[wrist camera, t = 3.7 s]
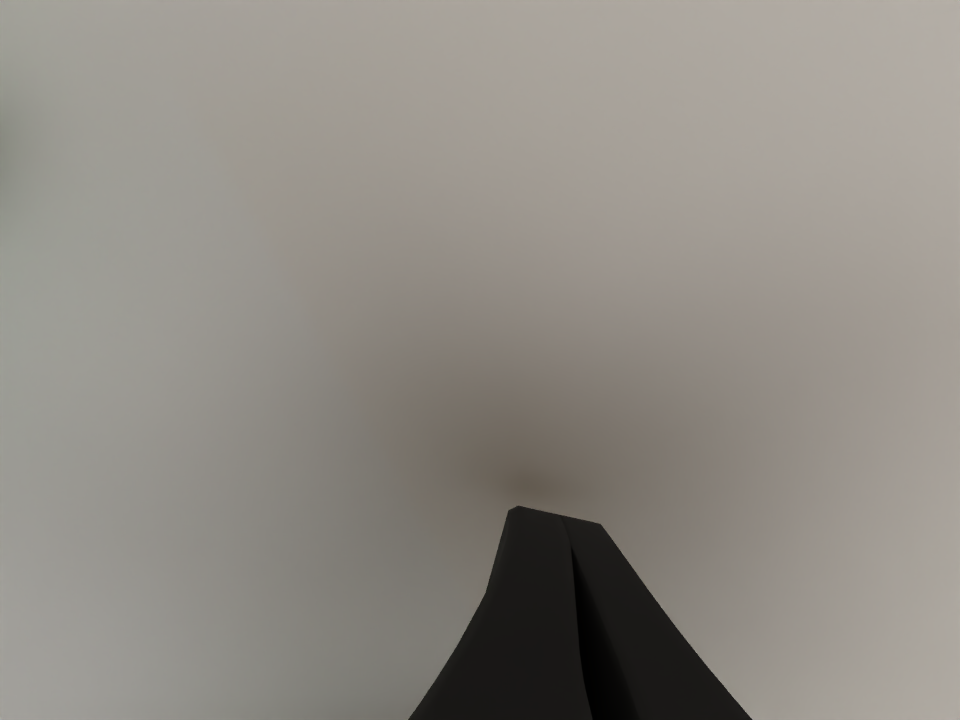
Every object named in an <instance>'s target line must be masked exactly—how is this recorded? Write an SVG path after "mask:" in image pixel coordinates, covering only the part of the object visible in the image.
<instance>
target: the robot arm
mask: <svg viewBox="0 0 960 720" xmlns="http://www.w3.org/2000/svg"><path fill="white" fill-rule="evenodd" d="M408 720H752V719H751V718H750V716H749V715H748V714H747V713H746V712H745V711H744V710H743V708H742V707H741V706H740V705H739V704H738V702H737V701H736V700H735V699H734V698H733V697H732V695H731V694H730V693H729V692H728V691H727V689H726V688H725V687H724V686H723V685H722V683H721V682H720V681H719V680H718V679H717V678H716V676H715V675H714V674H713V673H712V672H711V670H710V669H709V668H708V667H707V666H706V664H705V663H704V662H703V661H702V659H701V658H700V657H699V656H698V654H697V653H696V652H695V651H694V649H693V648H692V647H691V646H690V644H689V643H688V642H687V641H686V639H685V638H684V637H683V635H682V634H681V633H680V632H679V630H678V629H677V628H676V626H675V625H674V624H673V622H672V621H671V620H670V618H669V617H668V616H667V614H666V613H665V612H664V611H663V609H662V608H661V607H660V605H659V604H658V602H657V601H656V600H655V598H654V597H653V596H652V594H651V593H650V592H649V590H648V589H647V587H646V586H645V585H644V583H643V582H642V581H641V579H640V578H639V576H638V575H637V574H636V572H635V571H634V569H633V568H632V567H631V565H630V564H629V562H628V561H627V560H626V558H625V557H624V555H623V554H622V553H621V551H620V550H619V548H618V547H617V546H616V544H615V543H614V541H613V540H612V539H611V537H610V536H609V535H608V533H607V532H606V531H605V529H604V528H603V527H602V525H601V524H598V523H594V522H589V521H585V520H580V519H576V518H571V517H567V516H562V515H558V514H553V513H549V512H544V511H540V510H535V509H531V508H527V507H522V506H516V507H514V508H513V509H511V510H509V511H508V514H507V518H506V521H505V525H504V528H503V532H502V536H501V539H500V543H499V546H498V550H497V554H496V557H495V561H494V564H493V568H492V572H491V575H490V579H489V582H488V586H487V590H486V593H485V595H484V597H483V599H482V601H481V603H480V605H479V607H478V609H477V610H476V612H475V614H474V616H473V618H472V620H471V621H470V623H469V625H468V627H467V629H466V630H465V632H464V634H463V636H462V638H461V640H460V641H459V643H458V645H457V647H456V648H455V650H454V652H453V653H452V655H451V656H450V658H449V660H448V661H447V663H446V665H445V666H444V668H443V669H442V671H441V672H440V674H439V676H438V677H437V679H436V680H435V682H434V683H433V685H432V686H431V688H430V689H429V690H428V692H427V693H426V695H425V696H424V698H423V699H422V701H421V702H420V704H419V705H418V707H417V708H416V710H415V711H414V712H413V714H412V715H411V716H410V718H409V719H408Z"/></svg>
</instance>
